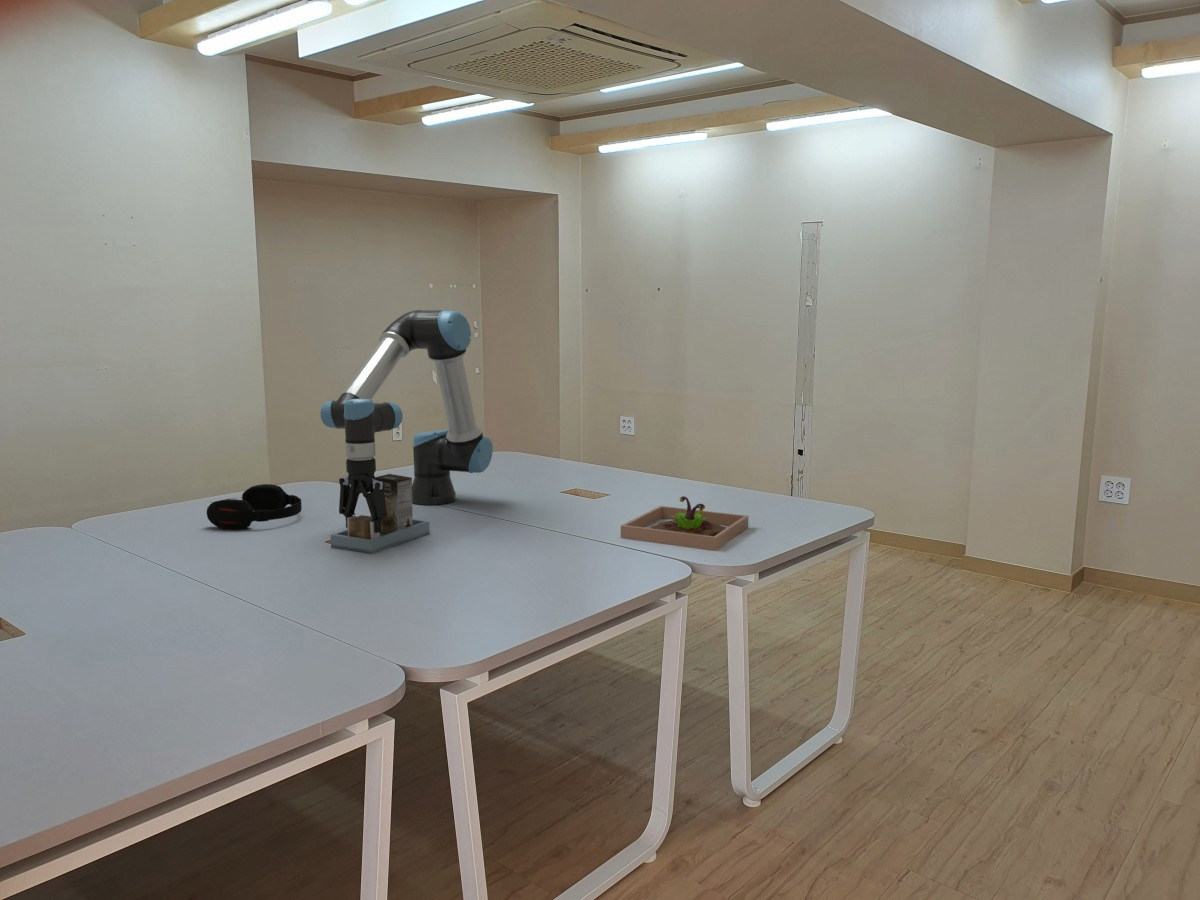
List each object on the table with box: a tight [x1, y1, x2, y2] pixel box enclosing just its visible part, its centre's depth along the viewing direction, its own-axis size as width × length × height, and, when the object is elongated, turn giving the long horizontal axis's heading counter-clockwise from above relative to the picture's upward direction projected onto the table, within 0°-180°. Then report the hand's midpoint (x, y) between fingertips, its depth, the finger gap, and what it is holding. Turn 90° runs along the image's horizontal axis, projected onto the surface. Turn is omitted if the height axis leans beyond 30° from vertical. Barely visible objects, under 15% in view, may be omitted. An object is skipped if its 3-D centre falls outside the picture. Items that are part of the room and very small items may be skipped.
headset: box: [206, 483, 303, 531], centre depth 263 cm, size 28×26×9 cm
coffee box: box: [375, 473, 414, 535], centre depth 243 cm, size 9×6×16 cm
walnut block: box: [349, 514, 372, 540], centre depth 233 cm, size 5×5×7 cm
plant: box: [649, 495, 728, 536], centre depth 247 cm, size 20×20×11 cm
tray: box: [330, 518, 431, 555], centre depth 240 cm, size 14×24×4 cm, turn 153°
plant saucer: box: [620, 505, 749, 551], centre depth 249 cm, size 28×28×4 cm
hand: (363, 542), depth 234 cm, fingers open, 7 cm apart
